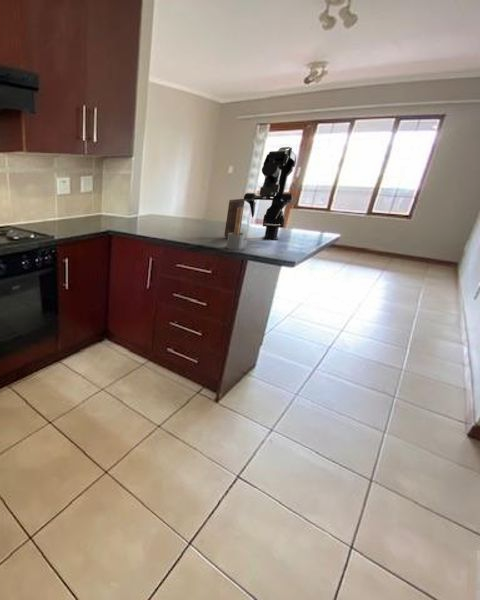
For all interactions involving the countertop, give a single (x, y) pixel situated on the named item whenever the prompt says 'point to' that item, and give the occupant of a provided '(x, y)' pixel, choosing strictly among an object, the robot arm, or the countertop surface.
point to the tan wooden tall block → (233, 215)
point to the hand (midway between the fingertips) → (263, 217)
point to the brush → (238, 221)
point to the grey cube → (235, 241)
